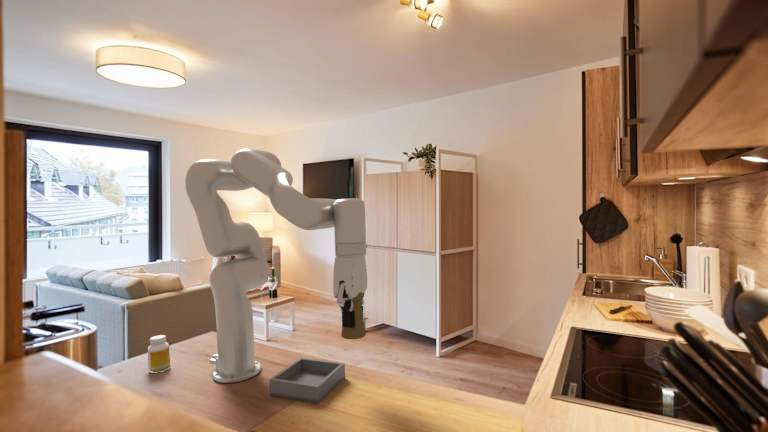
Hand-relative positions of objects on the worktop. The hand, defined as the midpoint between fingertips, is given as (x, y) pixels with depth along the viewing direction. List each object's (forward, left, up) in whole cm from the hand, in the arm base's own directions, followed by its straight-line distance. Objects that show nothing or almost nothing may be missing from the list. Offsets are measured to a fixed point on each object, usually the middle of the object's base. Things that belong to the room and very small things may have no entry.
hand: (353, 323), depth 92 cm
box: (-13, -1, -17) cm, 21 cm away
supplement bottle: (-61, -5, -17) cm, 63 cm away
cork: (0, 0, -3) cm, 3 cm away
